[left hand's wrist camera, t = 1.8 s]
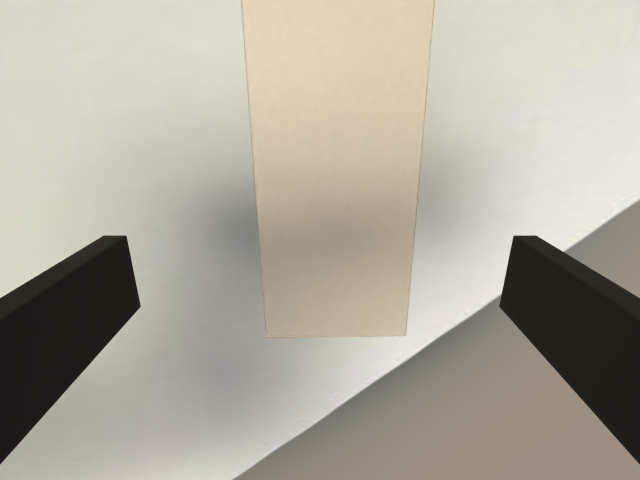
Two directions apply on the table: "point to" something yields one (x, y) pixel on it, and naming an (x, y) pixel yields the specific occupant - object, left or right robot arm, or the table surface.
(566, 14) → the table surface
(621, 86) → the table surface
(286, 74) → the wide beam
